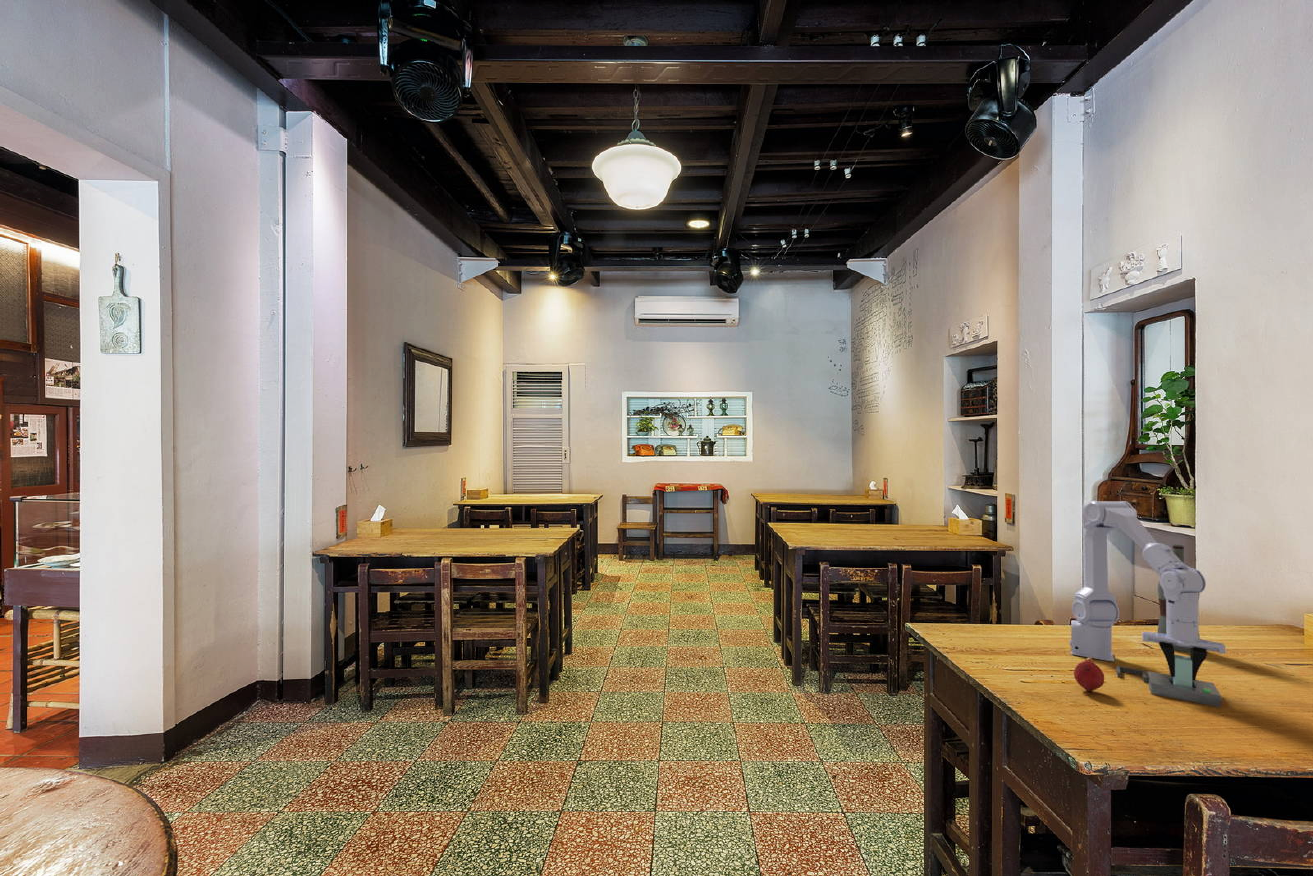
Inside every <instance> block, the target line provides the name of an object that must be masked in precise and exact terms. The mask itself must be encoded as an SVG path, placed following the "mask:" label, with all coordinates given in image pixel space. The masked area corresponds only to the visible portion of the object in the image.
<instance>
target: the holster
mask: <svg viewBox="0 0 1313 876" xmlns="http://www.w3.org/2000/svg"><path fill="white" fill-rule="evenodd" d="M1121 673H1125V674H1131V675H1135V676H1136V675H1137V676H1141V677H1142V681H1143V682H1144V683H1147V684H1148V682H1147V674H1146V671H1145V670H1143V669H1139V668H1132V667H1125V666H1120V665H1116V675H1117V678H1121V677H1122V676H1121Z"/></svg>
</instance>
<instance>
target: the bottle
mask: <svg viewBox="0 0 1313 876" xmlns="http://www.w3.org/2000/svg"><path fill="white" fill-rule="evenodd" d="M1171 546H1172V548H1171V549H1172V550H1171V551H1172V552H1173V553H1174V554H1175V555H1176V556H1177V557H1178V558H1179V559H1180V560H1181V561H1182V562H1183V563H1184V564H1185V546H1184V545H1182V544H1172V545H1171ZM1159 578H1161V577H1160V576H1159ZM1157 594H1158V595H1157V596H1158V604H1159V605H1158V606H1159V614H1160V615H1159V620H1158V623H1157V624H1158V626H1157V633H1163V634H1166V598H1165V596H1164V591H1163V588H1162V587H1161V585H1160V582H1159V581H1158V583H1157ZM1200 595H1201V594H1200V593H1198V597H1199V598H1200ZM1199 639H1201V637H1200V636H1199ZM1173 647H1174V650H1175V652H1179V651H1181V652H1182V653H1188V652H1190V648H1188V647H1182V646H1175V645H1173ZM1181 652H1180V653H1181Z"/></svg>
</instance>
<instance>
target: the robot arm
mask: <svg viewBox="0 0 1313 876" xmlns="http://www.w3.org/2000/svg"><path fill="white" fill-rule="evenodd" d="M1131 504H1132V503H1130V502H1128V501H1125V500H1119V501H1111V500H1109V501H1107V500H1106V501H1104V500H1103V501H1099V500H1091V501H1089V502H1087V504H1085V505H1084V506H1083V507H1082V539H1083V540H1082V541H1083V543H1082V545H1083V546H1082V547H1083V548H1082V551H1083V553H1082V554H1083V587H1082V588H1081V589H1079V590H1078V591H1076V592H1075V593H1074V594H1073V595H1074V596H1073V597H1074V598H1073V602H1072V605H1071V612H1072V614H1073V617H1074V618H1075V619H1076V620H1075V619H1074V620H1073V619H1072V620H1070V621H1071V622H1070V623H1071V624H1070V628H1071V629H1070V634H1071V635H1070V637H1071V638H1070V639H1069V647H1071V648H1070V649H1071V650H1070V654H1071V655H1073V656H1080V657H1085V658H1092V659H1096V660H1101V661H1108V662H1115V658H1114V653H1113V652H1112V649H1113V648H1112V638H1113V637H1112V633H1113V631H1112V630H1113V629H1112V627H1113V626H1114V625H1115V623H1116V622H1117V621H1118V620H1119V618H1120V608H1119V606H1118V603H1117V597H1116V596H1115V595H1114V593H1112V592H1111V591H1110V590H1109V577H1108V576H1109V575H1108V574H1109V573H1108V570H1109V569H1108V568H1109V567H1108V566H1109V565H1108V534H1110V532H1112V531H1113V530H1115V529H1120V530H1122V531H1123V533H1124V534H1126V535H1127V537H1129V538H1130V540H1132V541H1133V542H1134V543H1135V544H1136V545H1137V546H1138V547H1139V548H1140V549H1141V550H1142V551H1141V557H1142V558H1143V559H1144V561H1146V563H1147V564H1148V565H1149V566H1150V567H1151V568H1152V569H1153V570H1154V572H1155V573H1156V574H1157V575H1158V576H1159V578H1158V582H1160V585H1161V587H1162V588H1163V591H1164V596H1165V598H1166V634H1163V633H1158V632H1149V631H1142V632H1141V633H1142V634H1141V636H1142V637H1141V639H1142V641H1143V642H1146V643H1150V642H1151V643H1156V644H1157V643H1158V645H1159V647H1160V649H1161V651H1162V654H1163V655H1164V657H1165V660H1166V662H1167V666H1168V671H1169V675H1170V676H1172V677H1175V669H1174V655H1175V652H1176V651H1174V647H1173V645H1175V646H1182V647H1188V648H1190V653H1189V654H1190V656H1189V657H1190V658H1191V660H1192V680H1194V681H1195V680H1197V679H1196V678H1197V675H1198V671H1199V669H1200V668H1201V665H1202V664H1203V662H1204V661H1205V660H1206V659H1207V657H1208V651H1209V652H1214V653H1215V652H1216V653H1218V654H1223V655H1225V654H1226V645H1225V644H1224V643H1222V642H1217V641H1212V640H1207V639H1202V638H1200V639H1199V637H1200V631H1199V628H1200V627H1199V621H1200V620H1199V617H1200V615H1199V613H1200V612H1199V606H1200V605H1199V600H1200V596H1199V597H1198V593H1199V594H1200V593H1203V592H1204V590H1205V589H1206V587H1207V586H1206V583H1207V582H1206V579H1205V577H1204V575H1203V574H1202V573H1201V571H1200V570H1198V569H1196V568H1193V567H1190V566H1189V565H1186V564H1185V562H1184V563H1183V562H1182V561H1181V560H1180V559H1179V558H1178V557H1177V556H1176V555H1175V554H1174V553H1173V552H1172V548H1171V547H1170V546H1169V545H1167V544H1165V543H1158V542H1157V541H1156V540H1155V538H1154V537H1153V536H1152V535H1151V533H1150V532H1149V531H1148V530H1147V528H1146V527H1145V526H1144V525H1143V523H1142V522H1141V521H1140V520H1139V519H1138V511H1137V510H1136V509H1135V508H1134V507H1133V505H1131ZM1160 577H1161V578H1160Z"/></svg>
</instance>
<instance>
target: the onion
mask: <svg viewBox="0 0 1313 876" xmlns="http://www.w3.org/2000/svg"><path fill="white" fill-rule="evenodd" d="M1073 676H1074V679H1075V681H1076V683H1077V684H1078V685H1079V686H1080V687H1081V688H1082V689H1084V690H1085V691H1087V692H1090V693H1091V692H1094V691H1096V690H1098V689H1100V688H1102V686H1103V685H1104V683H1105V674H1104V672H1103V670H1102V669H1101V668H1100V666H1098V665H1097V664H1096V663H1095V662H1094V658H1090V657H1086V659H1085V660H1083V661H1081V662H1079V663H1078V664H1077V665H1076V666H1075V668H1074V671H1073Z"/></svg>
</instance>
